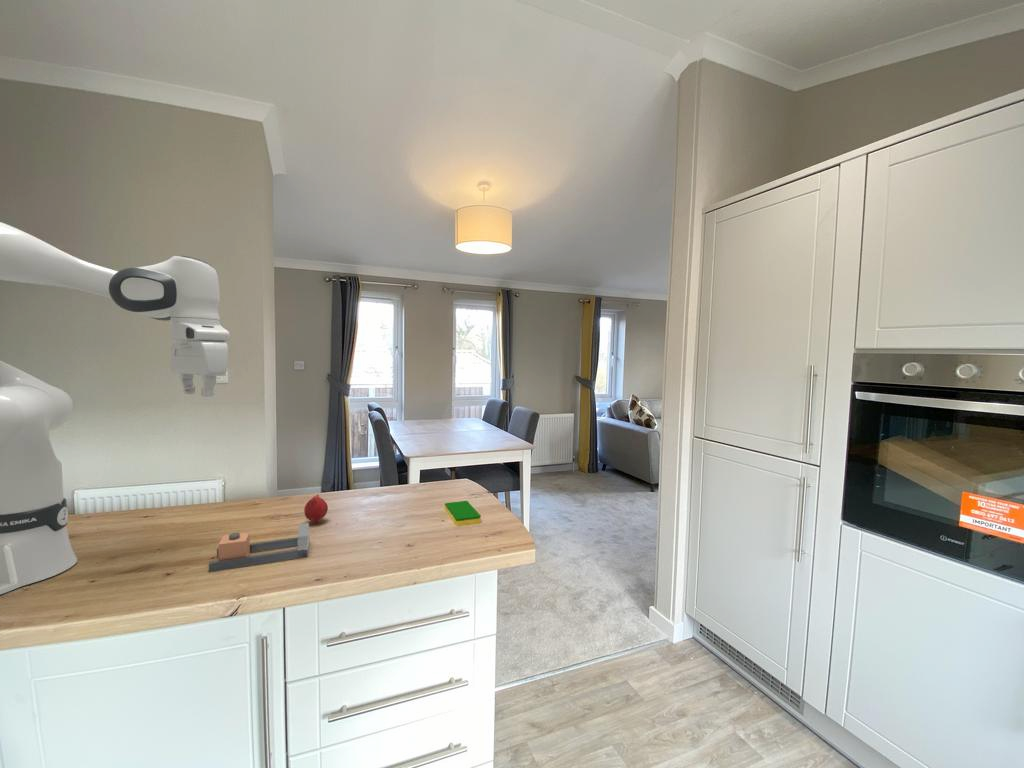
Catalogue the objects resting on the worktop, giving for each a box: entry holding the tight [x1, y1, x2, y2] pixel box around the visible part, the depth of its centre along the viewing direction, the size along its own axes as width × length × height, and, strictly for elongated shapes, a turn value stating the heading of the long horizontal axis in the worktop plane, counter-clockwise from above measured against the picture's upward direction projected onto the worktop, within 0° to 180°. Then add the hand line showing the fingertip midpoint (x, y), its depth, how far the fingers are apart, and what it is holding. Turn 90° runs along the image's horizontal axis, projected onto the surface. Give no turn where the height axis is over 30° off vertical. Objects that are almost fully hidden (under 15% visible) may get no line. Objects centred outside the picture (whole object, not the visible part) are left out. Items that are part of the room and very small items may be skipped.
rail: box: [208, 522, 310, 573], centre depth 96 cm, size 19×8×5 cm, turn 113°
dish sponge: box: [444, 500, 482, 527], centre depth 123 cm, size 7×14×2 cm, turn 22°
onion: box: [303, 493, 329, 524], centre depth 116 cm, size 6×6×8 cm
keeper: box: [217, 531, 251, 560], centre depth 94 cm, size 5×5×6 cm
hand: (198, 395), depth 94 cm, fingers open, 8 cm apart
